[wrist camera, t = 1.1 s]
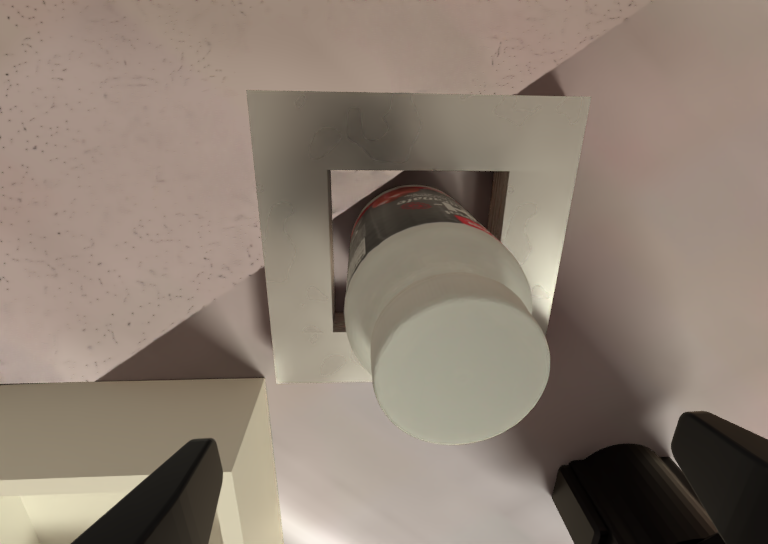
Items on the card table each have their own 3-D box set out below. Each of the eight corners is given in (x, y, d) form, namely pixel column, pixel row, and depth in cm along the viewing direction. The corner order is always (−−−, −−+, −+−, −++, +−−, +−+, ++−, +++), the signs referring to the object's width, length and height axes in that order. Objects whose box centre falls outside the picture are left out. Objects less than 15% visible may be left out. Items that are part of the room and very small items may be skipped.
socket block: (566, 98, 16) (591, 96, 14) (523, 355, 20) (537, 377, 19) (258, 92, 15) (246, 90, 14) (283, 360, 20) (276, 383, 18)
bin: (264, 377, 20) (231, 472, 15) (286, 562, 25) (267, 680, 20) (-34, 384, 19) (-180, 486, 14) (52, 574, 24) (-31, 699, 19)
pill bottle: (480, 187, 17) (617, 273, 8) (459, 301, 19) (551, 474, 10) (352, 176, 17) (345, 255, 8) (345, 294, 19) (333, 469, 10)
